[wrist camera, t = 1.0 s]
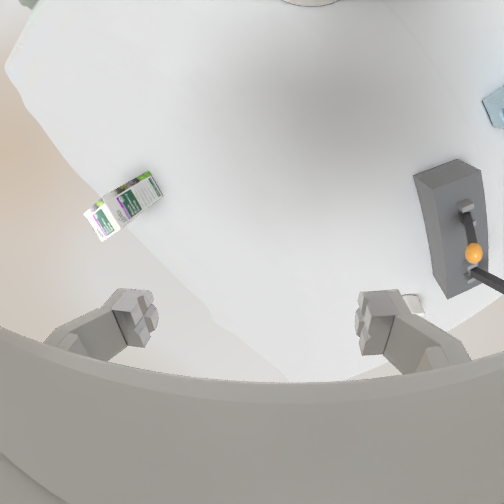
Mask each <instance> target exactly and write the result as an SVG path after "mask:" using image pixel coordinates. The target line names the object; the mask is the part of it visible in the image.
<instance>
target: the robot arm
mask: <svg viewBox="0 0 504 504" xmlns="http://www.w3.org/2000/svg"><path fill="white" fill-rule="evenodd" d="M283 1H285V2H288V3H291V4H295V5H301V6H322V5H327V4H330V3H333V2H335V1H338V0H283ZM153 300H154V299H153V295H152V293H151V292H150V291H149V290H136V289H121V288H120V289H117V290H116V291H115V292H114V293H113V295H112V296H111V297H110V298H109V299H108V300H107V301H106V302H105V303H104V305H103V306H102V307H101V308H100V309H95V310H93V311H91V312H89V313H87V314H85V315H83V316H80V317H78V318H76V319H74V320H72V321H70V322H68V323H66V324H64V325H62V326H60V327H58V328H56V329H55V330H54V331H53V332H52V333H51V334H50V335H49V337H48V338H47V339H46V340H45V341H44V342H43V343H41V342H38V341H36V340H33V339H30V338H27V337H25V336H22V335H20V334H17V333H14V332H12V331H10V330H7V329H5V328H3V327H1V326H0V504H504V351H503V352H500V353H497V354H493V355H490V356H487V357H483V358H479V359H476V360H471V358H470V357H469V355H468V353H467V351H466V349H465V348H464V346H463V344H462V342H461V341H460V340H458V339H456V338H455V337H453V336H452V335H450V334H448V333H447V332H445V331H443V330H442V329H440V328H438V327H437V326H435V325H433V324H432V323H430V322H428V321H427V320H425V319H423V318H422V317H420V316H418V315H417V314H412V313H411V311H410V310H409V308H408V306H407V304H406V302H405V301H404V299H403V297H402V295H401V294H400V292H399V290H397V289H392V290H383V291H368V292H360V294H359V297H358V304H359V308H358V310H357V311H356V315H355V330H356V334H357V335H358V336H359V337H360V340H359V346H360V350H361V354H362V356H363V355H379V354H383V355H384V356H385V357H386V358H387V359H388V360H389V361H390V362H391V363H392V364H393V365H394V366H395V367H396V368H397V369H398V370H399V371H400V372H401V373H402V374H403V375H396V376H390V377H381V378H373V379H362V380H352V381H351V380H350V381H335V382H308V383H275V382H248V381H230V380H219V379H208V378H199V377H190V376H182V375H174V374H168V373H162V372H156V371H150V370H144V369H139V368H134V367H129V366H124V365H120V364H115V363H111V362H107V361H108V360H110V359H111V358H112V357H114V356H115V355H116V354H118V353H119V352H121V351H122V350H123V349H125V348H126V347H127V346H135V347H143V348H145V346H146V344H147V342H148V341H149V339H150V337H151V336H150V332H152V331H154V330H155V329H156V327H157V324H158V319H159V318H158V312H157V308H156V307H155V306H154V305H153V304H152V302H153Z"/></svg>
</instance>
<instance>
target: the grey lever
mask: <svg viewBox="0 0 504 504" xmlns="http://www.w3.org/2000/svg"><path fill="white" fill-rule="evenodd" d="M468 275H469V276H471V277H473V278H475V279H476V280H478V281H480V282H482V283H484V284H486V285H488V286H490V287H491V288H493V289H495V290H497V291H499V292H500V293H502V294H504V280H502V279H500V278H498V277H496V276H494V275H492V274H490V273H488V272H486V271H484V270H482V269H480V268H478V267H475V268H472V269H470V270H468Z"/></svg>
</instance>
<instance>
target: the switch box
mask: <svg viewBox="0 0 504 504" xmlns="http://www.w3.org/2000/svg"><path fill="white" fill-rule="evenodd" d="M413 177H414V181H415V185H416V188H417V192H418V196H419V200H420V204H421V208H422V212H423V217H424V222H425V226H426V231H427V237H428V242H429V248H430V254H431V261H432V268H433V276H434V277H435V279H436V281H437V282H438V284H439V286H440V287H441V289H442V291H443V292H444V294H445V296H446V298H447V299H449V298H452V297H454V296H456V295H458V294H460V293H463V292H465V291H467V290H469V289H471V288H473V287H475V286H477V285H479V284H481V283H482V282H480V281H478V280H476V279H475V278H473V277H471V276H469V275H468V270H470V269H472V268H475V267H478V268H480V269H482V270H484V271H486V272H488V228H487V214H486V204H485V196H484V188H483V181H482V175H481V170H479V169H477V168H475V167H473V166H471V165H468V164H466V163H464V162H462V161H460V160H458V159H456V160H453V161H451V162H448V163H445V164H443V165H440V166H438V167H435V168H432V169H430V170H427V171H424V172H422V173H419V174H416V175H414V176H413ZM467 211H469V212H470V213H471V216H472V220H473V225H474V229H475V233H476V238H477V243H478V244H479V245H480V246H481V248H482V251H483V255H482V259H481V260H480V261H479V262H478V263H476V264H472V263H470V262H468V261H467V259H466V256H465V250H466V248H467V246H468V244H467V238H466V232H465V226H464V221H463V213H464V212H467Z"/></svg>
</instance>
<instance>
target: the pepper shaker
mask: <svg viewBox="0 0 504 504" xmlns="http://www.w3.org/2000/svg"><path fill="white" fill-rule="evenodd" d="M402 297H403V299H404V301H405V302H406V304H407V306H408V308H409V310H410V311H411V313H412V314H417V315H418V316H420V317H422V318H423V319H424V317H425V312H424V310H423V307H422V305H421V303H420V301H419V299H418V297H417V296H415V295H403V296H402Z"/></svg>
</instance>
